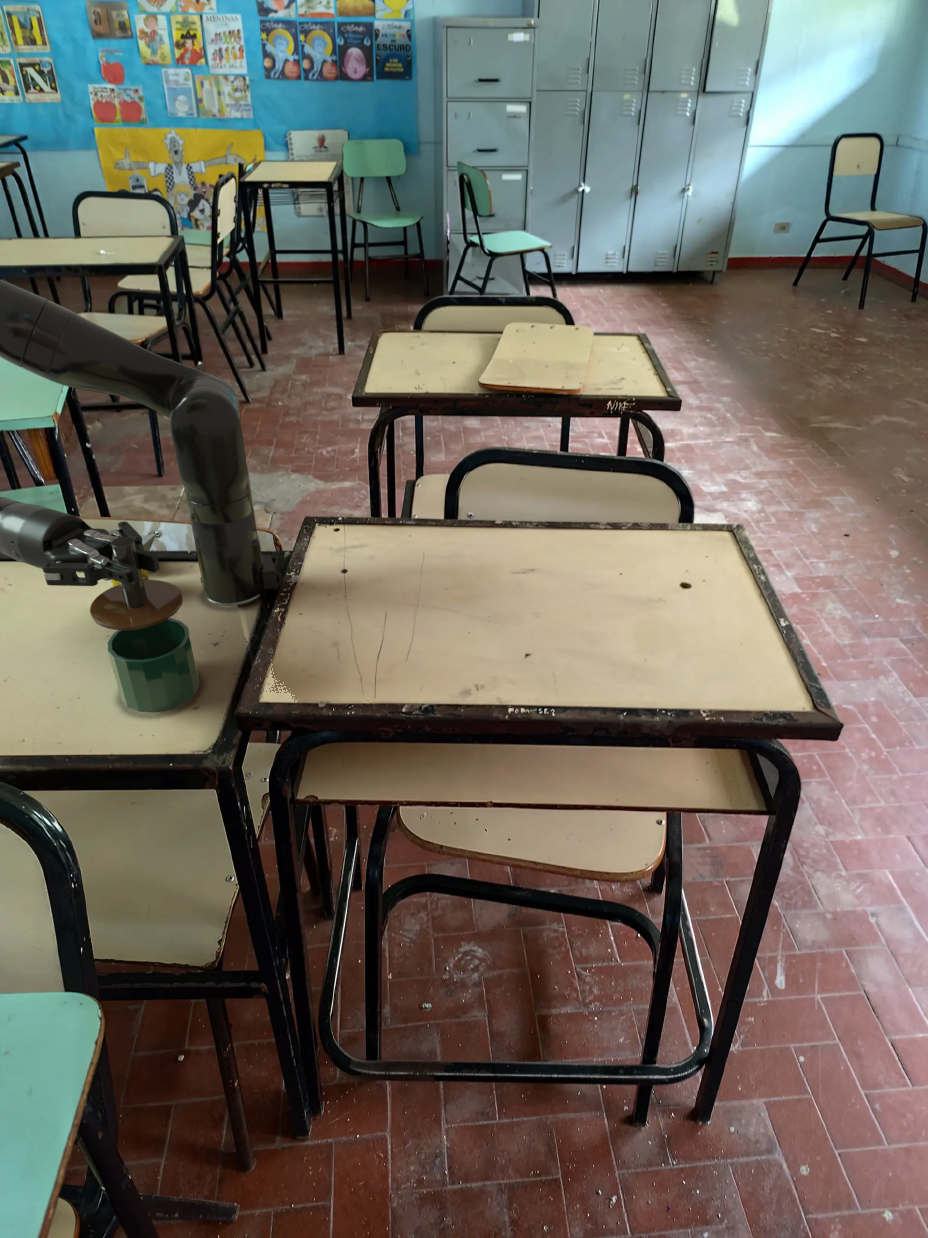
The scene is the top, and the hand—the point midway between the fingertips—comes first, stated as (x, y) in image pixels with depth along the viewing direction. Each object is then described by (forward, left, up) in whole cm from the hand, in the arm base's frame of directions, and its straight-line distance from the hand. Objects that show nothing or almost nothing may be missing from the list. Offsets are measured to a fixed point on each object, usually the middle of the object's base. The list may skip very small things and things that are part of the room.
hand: (146, 570), depth 100 cm
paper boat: (+4, -37, -19) cm, 42 cm away
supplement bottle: (+5, -28, -19) cm, 34 cm away
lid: (+2, -2, -6) cm, 7 cm away
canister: (+2, -2, -19) cm, 19 cm away
